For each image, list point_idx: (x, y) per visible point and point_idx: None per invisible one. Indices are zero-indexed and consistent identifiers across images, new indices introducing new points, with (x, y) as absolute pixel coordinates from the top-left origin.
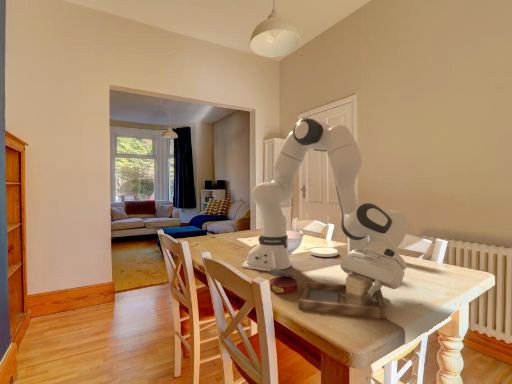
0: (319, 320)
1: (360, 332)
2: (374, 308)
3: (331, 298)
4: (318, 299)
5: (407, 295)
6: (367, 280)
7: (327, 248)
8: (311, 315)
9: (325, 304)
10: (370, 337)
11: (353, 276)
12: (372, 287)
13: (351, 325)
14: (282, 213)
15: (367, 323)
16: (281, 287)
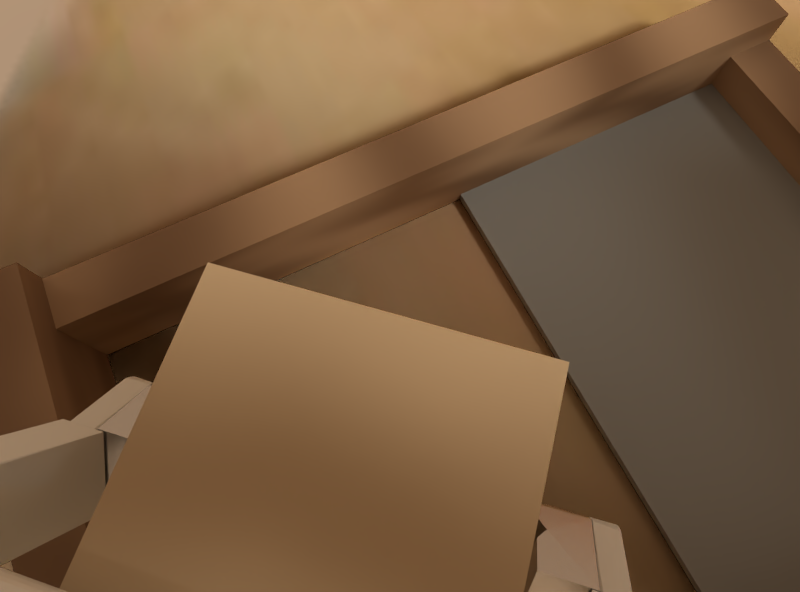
0: (476, 6)
1: (176, 40)
2: (96, 264)
3: (666, 396)
4: (742, 279)
5: None
6: (114, 485)
7: None
8: (568, 25)
9: (536, 78)
10: (104, 29)
11: (483, 550)
12: (55, 429)
13: (260, 78)
14: None
15: (168, 171)
16: None
